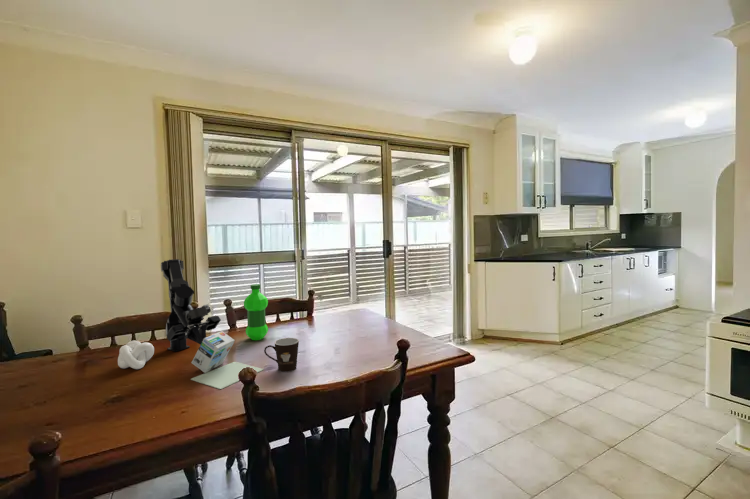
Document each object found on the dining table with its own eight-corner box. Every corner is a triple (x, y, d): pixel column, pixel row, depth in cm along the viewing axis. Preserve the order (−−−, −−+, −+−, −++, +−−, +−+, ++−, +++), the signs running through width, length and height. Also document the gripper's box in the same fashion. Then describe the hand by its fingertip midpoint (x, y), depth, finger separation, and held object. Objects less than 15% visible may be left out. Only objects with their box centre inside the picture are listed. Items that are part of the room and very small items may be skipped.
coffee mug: (303, 365, 136) (303, 339, 136) (291, 374, 128) (290, 346, 128) (277, 361, 140) (276, 336, 140) (263, 370, 132) (262, 343, 131)
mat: (190, 379, 125) (190, 378, 125) (234, 362, 140) (234, 361, 140) (220, 389, 117) (220, 388, 117) (263, 369, 132) (263, 369, 132)
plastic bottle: (273, 337, 171) (271, 284, 170) (255, 343, 162) (253, 287, 161) (259, 333, 177) (257, 282, 175) (240, 339, 168) (238, 285, 166)
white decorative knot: (150, 358, 146) (149, 335, 145) (159, 366, 137) (157, 342, 137) (116, 365, 138) (114, 342, 137) (123, 374, 130) (121, 350, 129)
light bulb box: (204, 373, 129) (218, 348, 127) (190, 363, 130) (203, 337, 128) (223, 363, 139) (236, 340, 138) (209, 353, 140) (222, 330, 139)
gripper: (169, 303, 128) (190, 339, 123) (216, 294, 144) (236, 325, 139) (158, 323, 132) (177, 358, 127) (204, 312, 148) (224, 343, 143)
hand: (205, 345), depth 134 cm, fingers closed
